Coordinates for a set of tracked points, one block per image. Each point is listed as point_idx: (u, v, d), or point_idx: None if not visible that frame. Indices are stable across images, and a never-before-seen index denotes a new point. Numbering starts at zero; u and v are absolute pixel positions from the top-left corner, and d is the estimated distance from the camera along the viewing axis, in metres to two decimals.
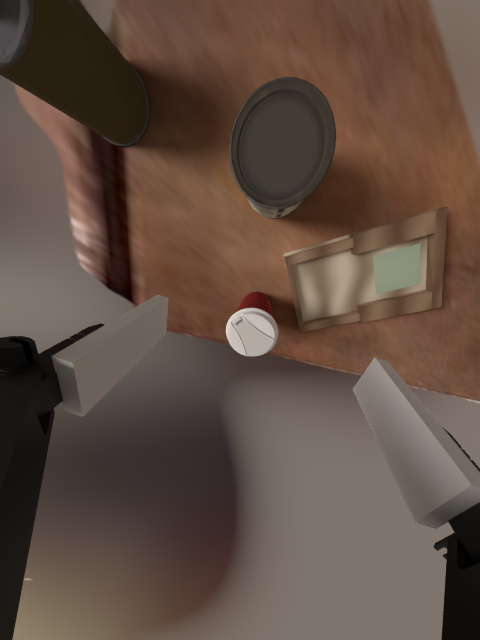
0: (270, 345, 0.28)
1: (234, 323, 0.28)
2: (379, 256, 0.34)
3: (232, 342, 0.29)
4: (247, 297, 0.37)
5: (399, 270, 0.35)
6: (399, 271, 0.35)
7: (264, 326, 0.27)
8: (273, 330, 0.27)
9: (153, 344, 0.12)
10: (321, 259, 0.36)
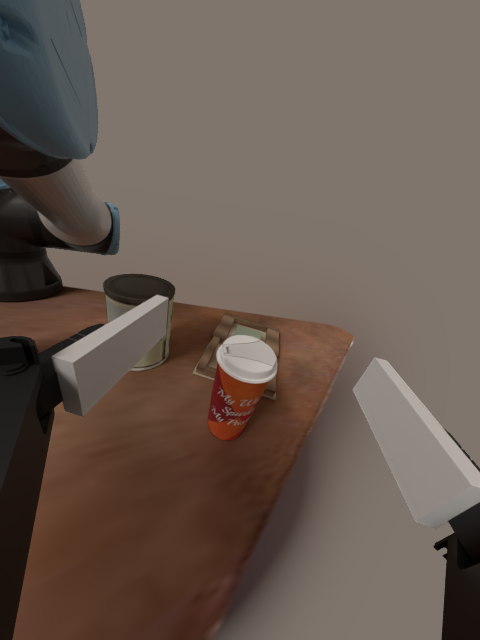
0: (266, 345, 0.26)
1: (227, 353, 0.23)
2: None
3: (249, 367, 0.21)
4: (210, 404, 0.28)
5: (248, 334, 0.53)
6: (249, 335, 0.53)
7: (244, 338, 0.26)
8: (251, 337, 0.27)
9: (153, 344, 0.12)
10: None
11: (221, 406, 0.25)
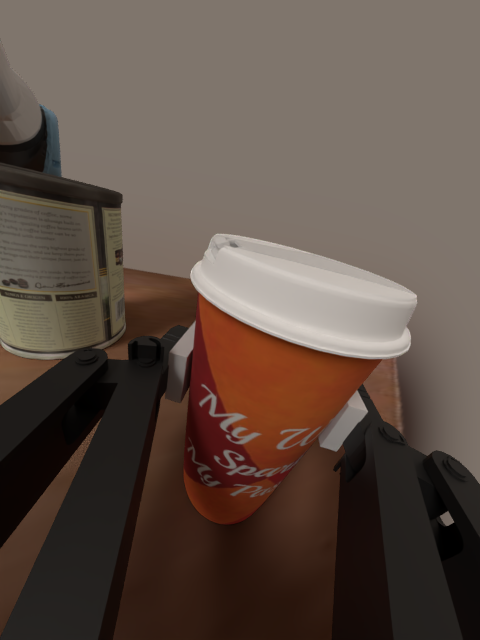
0: (341, 262, 0.09)
1: None
2: None
3: (337, 282, 0.04)
4: None
5: None
6: None
7: (276, 245, 0.09)
8: (292, 249, 0.10)
9: None
10: None
11: (212, 448, 0.08)
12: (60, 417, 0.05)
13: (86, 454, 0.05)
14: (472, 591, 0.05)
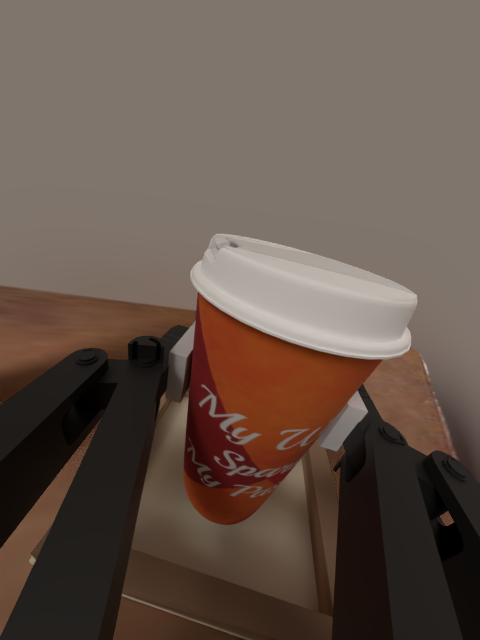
0: (341, 262, 0.09)
1: None
2: None
3: (338, 282, 0.04)
4: None
5: None
6: None
7: (276, 245, 0.09)
8: (292, 249, 0.10)
9: None
10: (156, 446, 0.15)
11: (211, 448, 0.08)
12: (60, 416, 0.05)
13: (86, 454, 0.05)
14: (472, 591, 0.05)
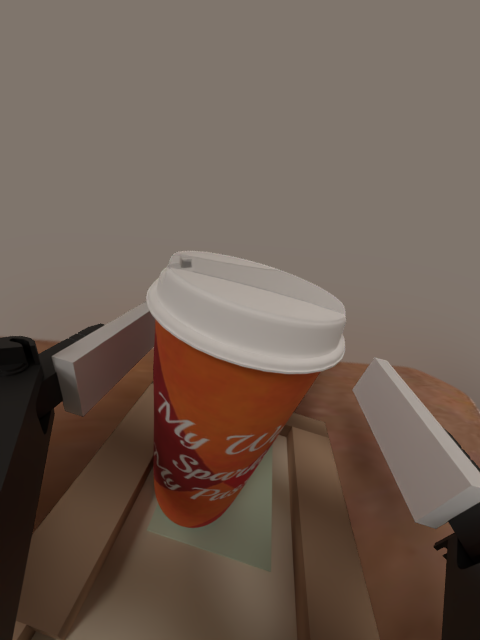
0: (301, 279, 0.10)
1: (178, 267, 0.06)
2: (161, 510, 0.12)
3: (263, 305, 0.05)
4: None
5: None
6: None
7: (240, 261, 0.10)
8: (259, 264, 0.11)
9: (153, 344, 0.12)
10: None
11: (170, 452, 0.08)
12: None
13: None
14: None
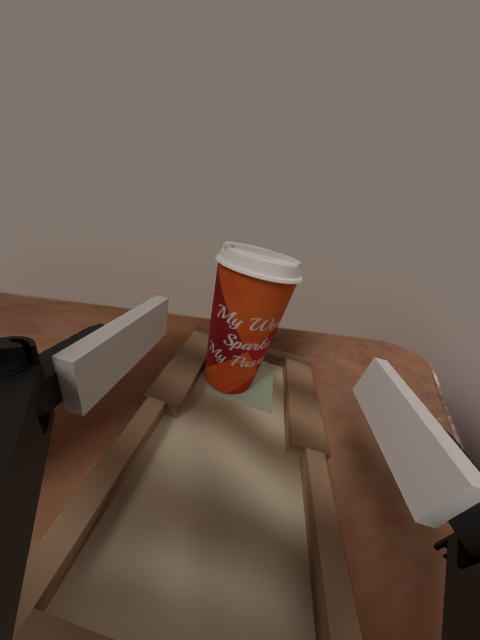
0: (285, 255, 0.19)
1: (230, 247, 0.15)
2: (210, 386, 0.21)
3: (264, 258, 0.14)
4: None
5: None
6: None
7: (253, 246, 0.19)
8: (263, 248, 0.20)
9: (153, 344, 0.12)
10: (137, 479, 0.13)
11: (222, 336, 0.17)
12: None
13: None
14: None
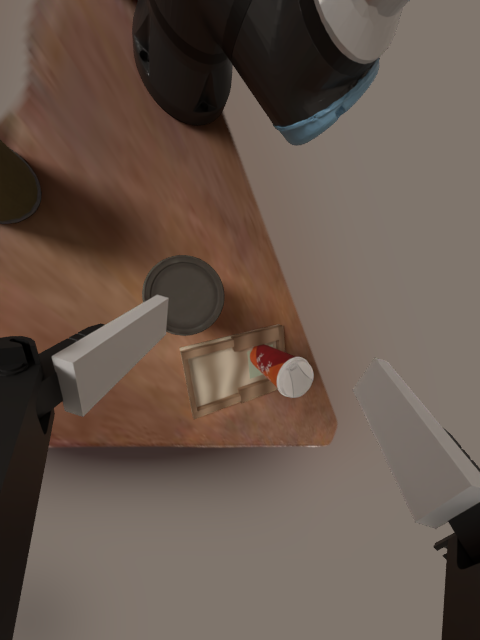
0: (309, 386, 0.37)
1: (290, 370, 0.34)
2: (250, 351, 0.47)
3: (285, 386, 0.34)
4: (264, 348, 0.44)
5: None
6: None
7: (308, 370, 0.36)
8: (313, 373, 0.36)
9: (153, 344, 0.12)
10: (211, 353, 0.43)
11: (263, 363, 0.40)
12: None
13: None
14: None
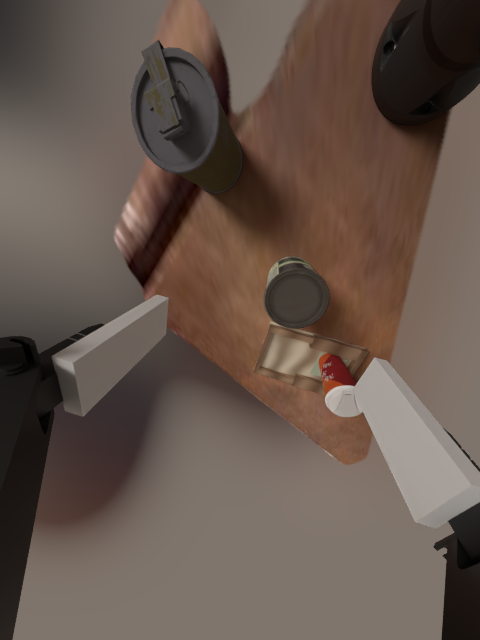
0: (354, 415, 0.40)
1: (344, 393, 0.38)
2: (323, 354, 0.51)
3: (332, 401, 0.39)
4: (336, 360, 0.47)
5: None
6: None
7: None
8: None
9: (153, 344, 0.12)
10: (291, 337, 0.50)
11: (326, 371, 0.45)
12: None
13: None
14: None
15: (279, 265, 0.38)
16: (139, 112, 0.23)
